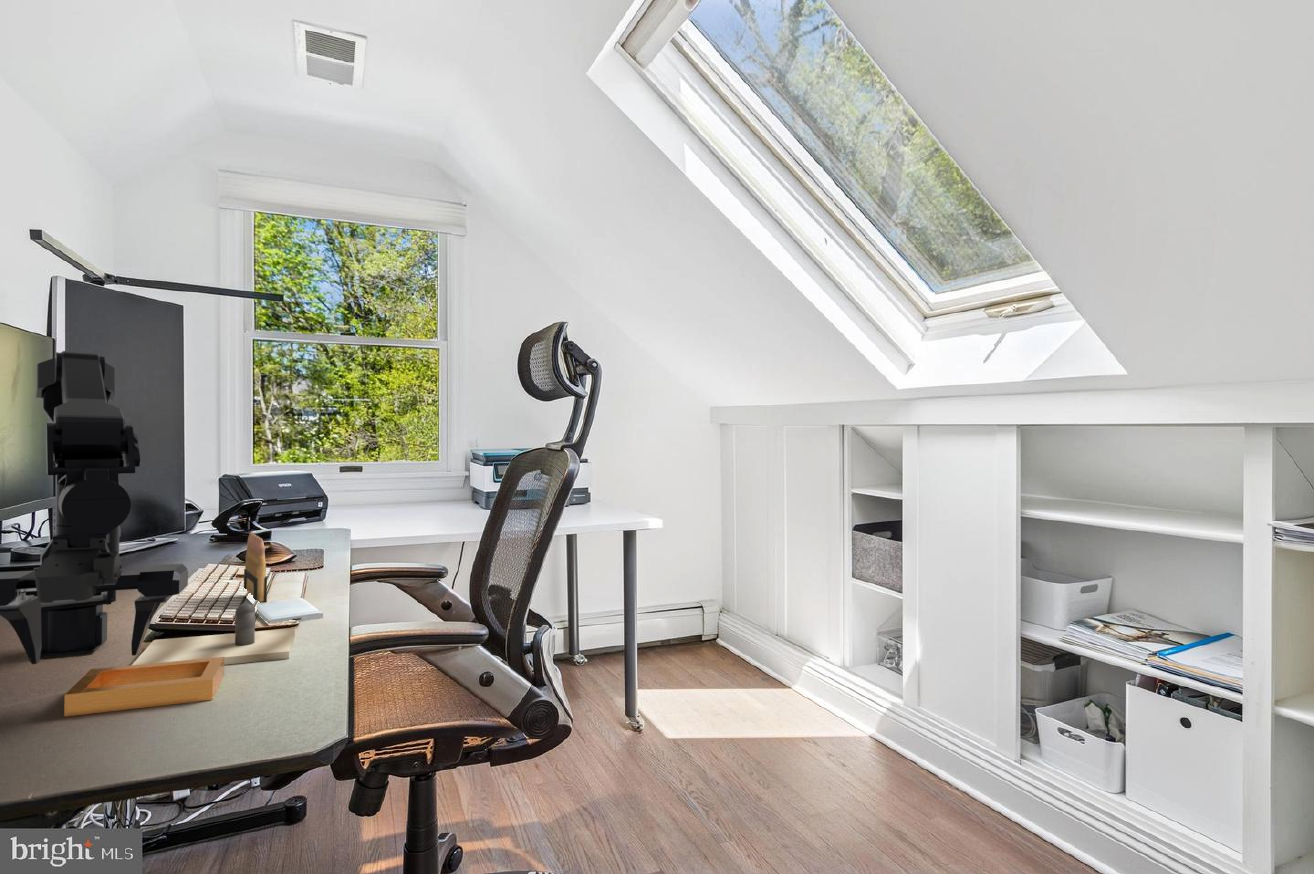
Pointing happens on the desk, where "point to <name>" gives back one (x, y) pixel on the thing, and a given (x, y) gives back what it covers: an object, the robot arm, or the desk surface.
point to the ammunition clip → (256, 569)
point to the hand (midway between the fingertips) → (86, 658)
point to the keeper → (225, 644)
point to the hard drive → (288, 610)
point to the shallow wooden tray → (144, 686)
